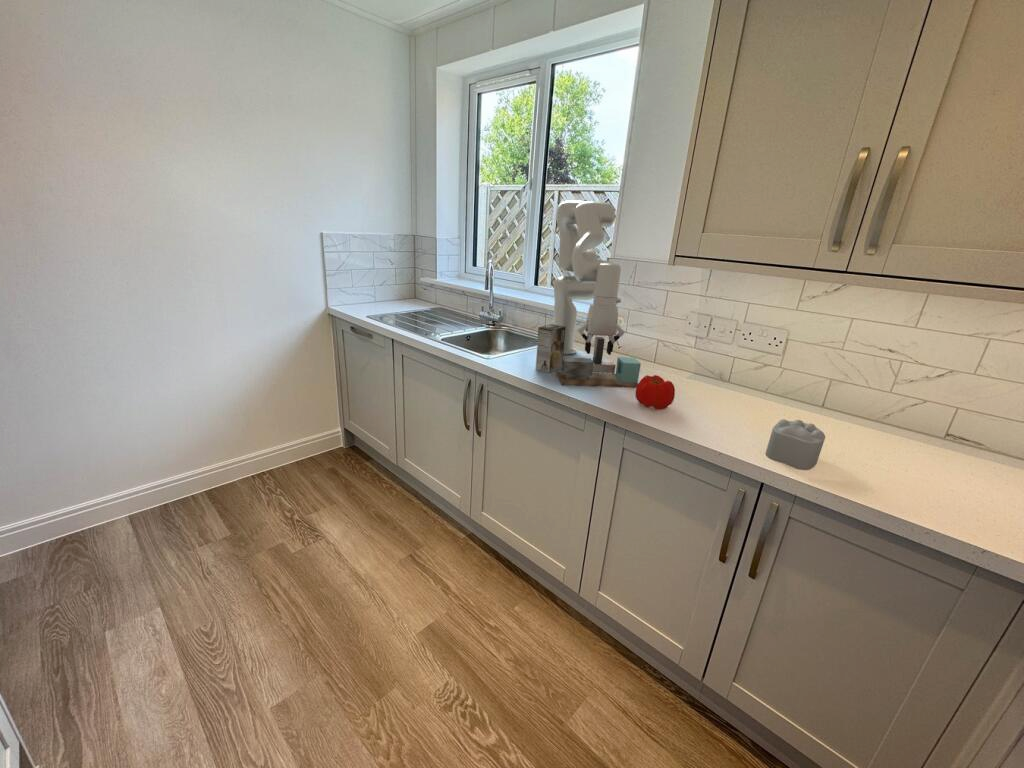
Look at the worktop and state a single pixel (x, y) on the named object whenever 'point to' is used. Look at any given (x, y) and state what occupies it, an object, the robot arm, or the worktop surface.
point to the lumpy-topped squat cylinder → (795, 444)
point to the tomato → (655, 392)
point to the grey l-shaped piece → (597, 358)
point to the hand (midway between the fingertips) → (598, 352)
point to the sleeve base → (596, 381)
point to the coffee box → (550, 347)
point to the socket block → (627, 369)
